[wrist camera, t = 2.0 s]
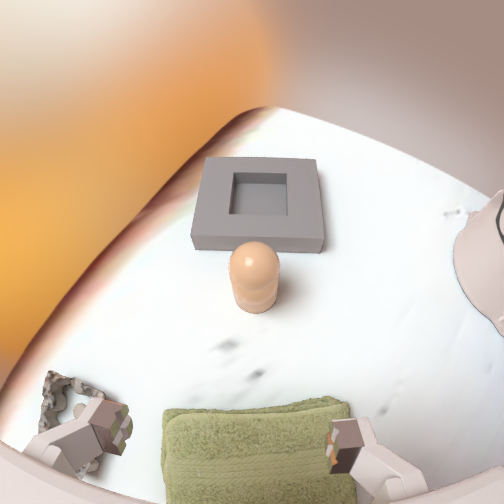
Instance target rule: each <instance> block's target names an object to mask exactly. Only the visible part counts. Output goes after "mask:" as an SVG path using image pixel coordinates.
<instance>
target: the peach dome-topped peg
mask: <svg viewBox="0 0 504 504" xmlns="http://www.w3.org/2000/svg"><path fill="white" fill-rule="evenodd" d="M279 273H280V262H279V258H278V256H277V254H276V252H275V251H274V250H273V249H272V248H271V247H270V246H268V245H267V244H265V243H262V242H258V241H251V242H246V243H244V244H242V245H240V246H239V247H238V248H236V249H235V251H234V252H233V253H232V255H231V257H230V260H229V274H230V279H231V283H232V288H233V293H234V297H235V301H236V303H237V304H238V306H239V307H240V308H241V309H242V310H244V311H246V312H248V313H254V314H257V313H262V312H265V311H267V310H268V309H270V308H271V307H272V306H273V304H274V303H275V300H276V297H277V289H278V281H279Z"/></svg>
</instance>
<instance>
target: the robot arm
mask: <svg viewBox="0 0 504 504" xmlns="http://www.w3.org/2000/svg"><path fill="white" fill-rule="evenodd" d="M453 259H454V266H455V270H456V274H457V277H458V280H459V282H460V285H461V287H462V289H463V291H464V292H465V294H466V296H467V297H468V299H469V300H470V301H471V303H472V304H473V305H474V306H475V307H476V308H477V309H478V310H479V311H480V312H481V313H482V314H484V315H485V316H486V317H488V318H489V319H490V320H491V321H492V322H493V324H494V325H495V327H496V328H497V330H498V331H499V333H500V334H501V335H502V336H504V190H500V191H499V192H498V193H497V194H496V195H495V196H494V197H493V198H492V199H491V200H490V201H489V202H488V203H487V204H486V205H485V206H484V207H483V208H482V209H481V211H480V212H478V211H473V212H472V213H471V214H470V215H469V217H468V221H467V225H466V227H465V228H464V229H463V230H462V231H461V232H460V233H459V234H458V236H457V238H456V240H455V243H454V250H453ZM128 412H129V409H128V406H127V405H125V404H122V403H118V402H114V401H110V400H107V399H102V398H99V397H93V398H92V399H91V400H90V402H89V403H88V405H87V406H86V408H85V409H84V410H83V412H82V413H81V415H80V416H79V418H78V419H73V420H71V421H68V422H66V423H64V424H61V425H59V426H57V427H54V428H52V429H50V430H47V431H45V432H43V433H40V434H38V435H35V436H34V437H33V438H32V440H31V441H30V442H29V444H28V445H27V447H26V448H25V449H24V451H23V452H22V453H21V452H19V451H17V450H16V449H14V448H12V447H10V446H9V445H7V444H5V443H4V442H2V441H0V504H157V503H153V502H149V501H145V500H141V499H137V498H133V497H129V496H126V495H122V494H119V493H116V492H112V491H109V490H106V489H103V488H100V487H97V486H94V485H92V484H89V483H86V482H84V481H81V480H80V479H79V477H78V476H77V474H76V473H75V471H76V470H78V469H79V468H81V467H83V466H84V465H86V464H87V463H89V462H90V461H92V460H93V459H94V458H96V457H97V456H99V455H100V454H102V453H103V451H104V452H107V453H111V454H115V455H119V456H121V455H122V453H123V451H124V449H125V447H126V443H125V440H127V439H129V438H130V436H131V434H132V429H133V423H132V419H131V417H130V416H129V415H128ZM328 427H329V432H328V433H326V437H325V443H324V446H325V454H326V455H327V456H328V457H329V458H328V461H327V465H328V471H329V474H342V473H350V475H351V476H352V477H353V478H354V479H355V480H356V481H357V482H358V483H359V484H360V485H361V486H362V487H363V488H364V489H365V490H366V491H367V492H368V493H369V494H370V495H372V496H373V497H374V499H373V500H372V502H371V503H370V504H504V466H500V465H499V466H495V467H492V468H490V469H488V470H486V471H484V472H481V473H479V474H477V475H475V476H472V477H470V478H467V479H465V480H462V481H460V482H457V483H455V484H452V485H449V486H447V487H444V488H441V489H438V490H435V491H432V492H430V491H429V489H428V486H427V484H426V482H425V479H424V477H423V474H422V472H421V470H419V469H417V468H416V467H414V466H413V465H411V464H410V463H408V462H407V461H405V460H404V459H402V458H401V457H399V456H398V455H396V454H395V453H393V452H392V451H390V450H389V449H388V448H386V447H385V446H383V445H382V444H380V445H378V443H377V440H376V437H375V434H374V432H373V429H372V426H371V424H370V421H369V419H368V418H367V417H362V418H351V419H340V420H331V421H330V423H329V426H328Z"/></svg>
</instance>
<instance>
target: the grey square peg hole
mask: <svg viewBox="0 0 504 504" xmlns="http://www.w3.org/2000/svg"><path fill="white" fill-rule="evenodd" d="M190 236H191V238H192V241H193V244H194V247H195V250H226V251H235V249H236V248H238V247H239V246H240V245H242V244H244V243H246V242H251V241H258V242H262V243H265V244H267V245H268V246H270V247H271V248H272V249H273V250H274V251H275V252H295V253H320V252H321V249H322V246H323V243H324V240H325V236H324V226H323V216H322V206H321V197H320V189H319V181H318V173H317V165H316V160H315V159H297V158H269V157H206V160H205V165H204V170H203V174H202V179H201V183H200V188H199V193H198V198H197V203H196V208H195V213H194V218H193V223H192V229H191V234H190Z"/></svg>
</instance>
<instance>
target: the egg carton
mask: <svg viewBox="0 0 504 504" xmlns="http://www.w3.org/2000/svg"><path fill="white" fill-rule="evenodd" d="M69 384H71V386H72V388H73V390H74V391H75V392H76V393H78V394H81V395H87V396H92V395H93V397H99V398H102V399H105V394H104V392H102V391H100V390H96V389H93V388H91V387H89V386H86V385H83V382H82V381H80V380H78V379H77V378H69V377H66V376H62V375H60V374H59V373H56V372H54V371H52V370H51V371H48V373H47V377H46V378H45V384H44V386H43V393H42V395H43V396H44V400H43V403H42V405H41V409H42V412H41V418H40V421H39V434H40V433H43V432H45V431H47V430H50V429H52V428H54V427H57V426H59V425H60V424H59V422H58V421H57V411H63V410H64V409H65V408H66V405H67V401H66V397H65V396H64V394H63V393H62V391H63V387H64V385H69ZM85 408H86V405H84V404H82V403H81V404H77V405H76V406H75V407H74V411H73V412H74V413H73V414H74V417H75V419H78V418H79V416H80V415H81V413H82V412H83V410H84V409H85ZM98 467H99V462H98V461H97V460H96V459H95V458H94V459H93V460H92V461H90V462H89V463H87V464H86V465H85V466H83V467H81V468H79V469H78V470H76V471H75V473H76V474H77V476H78V477H79V479H80V480H82V478H83V477H84V475H85V474H87V473H88V472H91V471H96V470H98Z"/></svg>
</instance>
